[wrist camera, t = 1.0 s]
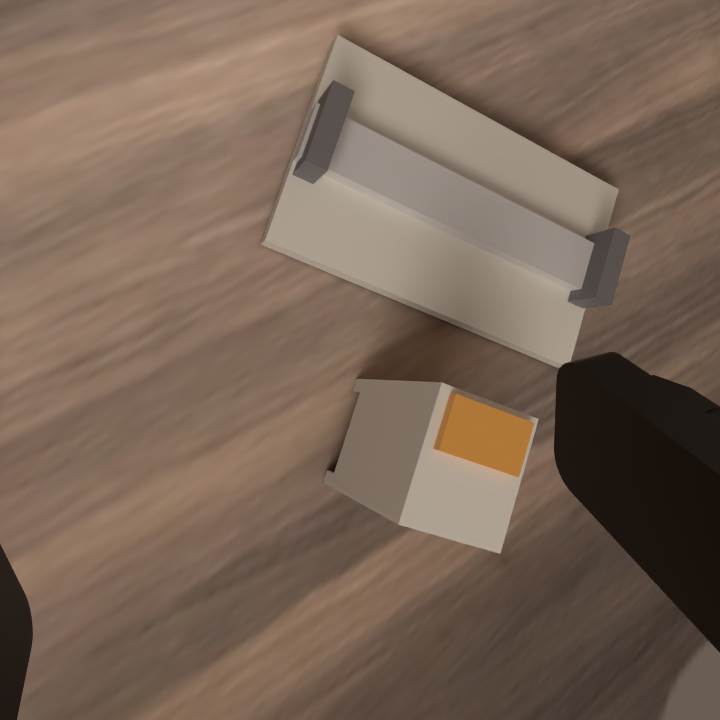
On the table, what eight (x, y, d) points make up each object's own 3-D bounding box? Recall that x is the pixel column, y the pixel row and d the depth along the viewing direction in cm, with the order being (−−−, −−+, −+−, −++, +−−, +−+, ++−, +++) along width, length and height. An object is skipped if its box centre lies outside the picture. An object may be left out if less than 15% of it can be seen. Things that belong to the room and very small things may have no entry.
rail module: (323, 482, 35) (403, 527, 25) (356, 378, 36) (447, 382, 26) (402, 505, 37) (506, 557, 27) (432, 406, 38) (545, 419, 28)
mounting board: (260, 244, 34) (276, 230, 31) (330, 45, 36) (353, 10, 32) (556, 367, 41) (596, 367, 37) (605, 194, 42) (648, 178, 39)
